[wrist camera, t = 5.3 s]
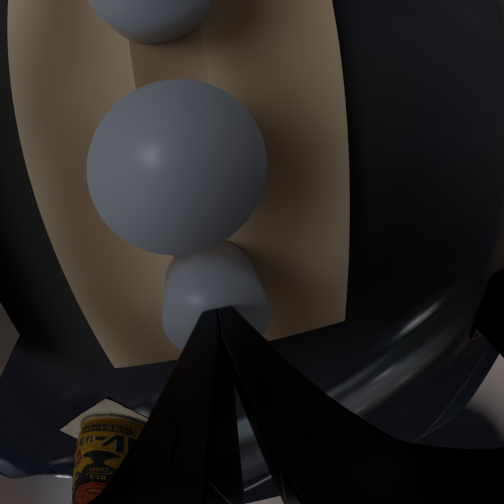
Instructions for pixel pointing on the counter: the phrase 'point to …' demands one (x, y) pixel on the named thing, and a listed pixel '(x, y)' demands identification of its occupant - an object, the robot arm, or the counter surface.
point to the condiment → (101, 446)
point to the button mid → (176, 167)
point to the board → (242, 89)
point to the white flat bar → (6, 337)
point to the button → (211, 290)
